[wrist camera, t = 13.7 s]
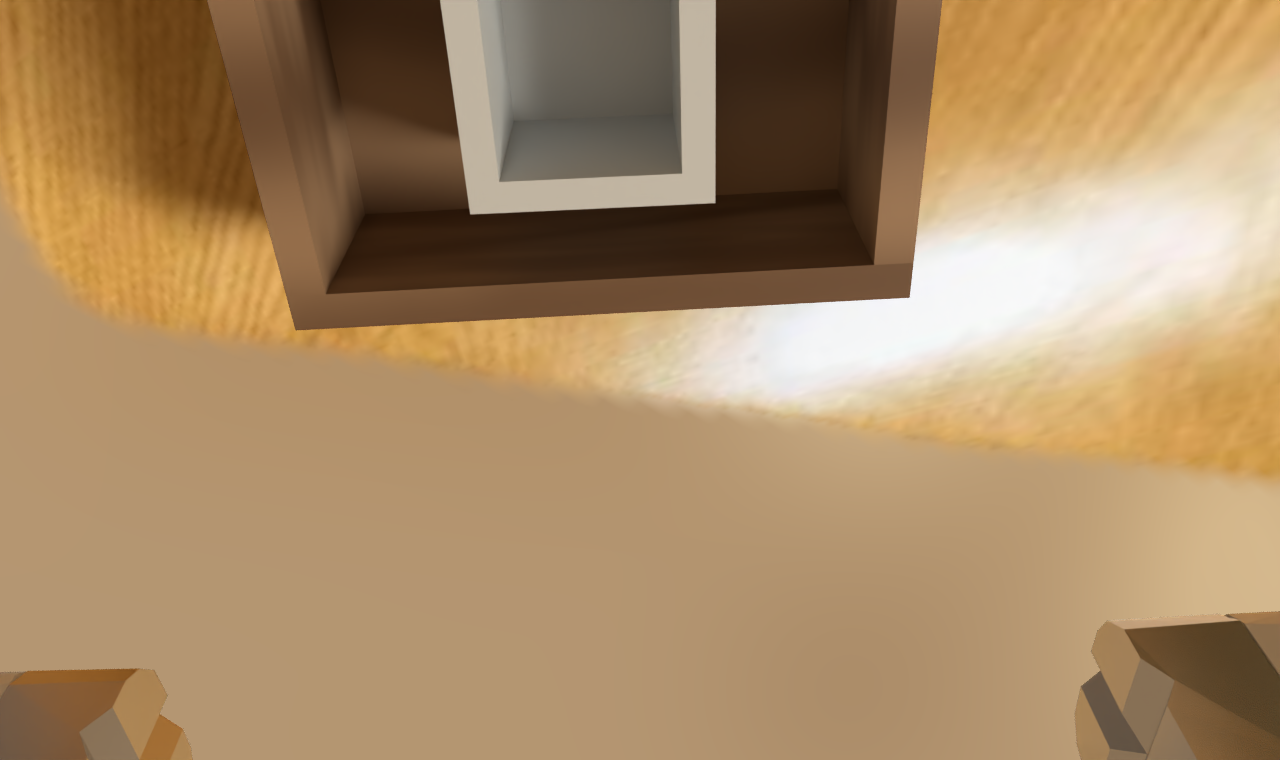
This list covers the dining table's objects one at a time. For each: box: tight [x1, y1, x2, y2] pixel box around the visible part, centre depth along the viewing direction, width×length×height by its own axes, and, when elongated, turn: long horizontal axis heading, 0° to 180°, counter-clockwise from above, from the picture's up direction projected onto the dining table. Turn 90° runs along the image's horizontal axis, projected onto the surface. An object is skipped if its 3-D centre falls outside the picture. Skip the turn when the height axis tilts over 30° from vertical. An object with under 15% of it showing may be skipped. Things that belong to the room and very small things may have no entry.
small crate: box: [440, 0, 716, 214], centre depth 25 cm, size 6×6×5 cm
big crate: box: [207, 0, 942, 330], centre depth 26 cm, size 12×16×6 cm
